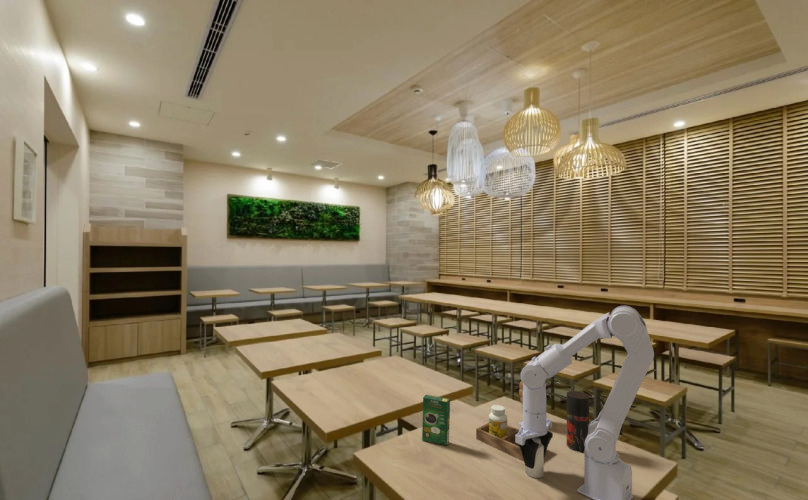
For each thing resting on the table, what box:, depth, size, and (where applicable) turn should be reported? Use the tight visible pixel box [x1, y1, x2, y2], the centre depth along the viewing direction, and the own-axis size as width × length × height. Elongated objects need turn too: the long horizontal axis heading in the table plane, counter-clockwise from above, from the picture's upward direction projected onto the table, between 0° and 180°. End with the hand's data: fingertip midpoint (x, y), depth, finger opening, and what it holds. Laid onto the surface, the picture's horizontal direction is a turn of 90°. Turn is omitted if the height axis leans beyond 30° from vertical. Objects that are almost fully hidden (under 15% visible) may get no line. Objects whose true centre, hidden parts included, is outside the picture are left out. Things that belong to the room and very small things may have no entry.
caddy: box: [475, 422, 524, 462], centre depth 109 cm, size 17×10×3 cm, turn 41°
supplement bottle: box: [488, 404, 508, 438], centre depth 112 cm, size 5×5×10 cm
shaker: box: [524, 437, 545, 479], centre depth 95 cm, size 4×4×8 cm
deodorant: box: [566, 390, 590, 453], centre depth 108 cm, size 6×6×15 cm
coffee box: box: [421, 394, 451, 446], centre depth 111 cm, size 8×3×13 cm, turn 67°
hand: (534, 463), depth 95 cm, fingers closed on shaker, 4 cm apart
